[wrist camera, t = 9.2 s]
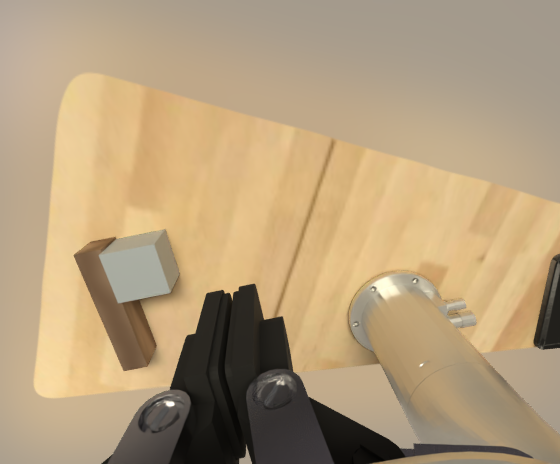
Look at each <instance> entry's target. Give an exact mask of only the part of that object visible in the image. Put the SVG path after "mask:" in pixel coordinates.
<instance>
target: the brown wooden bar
mask: <svg viewBox="0 0 560 464" xmlns="http://www.w3.org/2000/svg"><path fill="white" fill-rule="evenodd" d="M115 240H116V238H115V237H113V238H108V239H103V240H98V241H93V242H90V243H88V244H87V245H86V246H85V247H83V248H82V249H81V250H80V251H78V252H77V253H76V254H74V258H75V260H76V262H77V264H78V267H79V269H80V271H81V274H82V276H83V278H84V281H85V283H86V285H87V288H88V290H89V292H90V294H91V297H92V299H93V301H94V304H95V306H96V308H97V311H98V313H99V315H100V317H101V320H102V322H103V324H104V327H105V329H106V331H107V334H108V336H109V338H110V340H111V343H112V345H113V347H114V350H115V352H116V354H117V357H118V359H119V361H120V363H121V366H122V368H123V370H124V371H127V370H132V369H137V368H142V367H147V366H148V364H149V362H150V359H151V357H152V355H153V352H154V350H155V348H156V343H155V340H154V338H153V335H152V333H151V330H150V327H149V325H148V322H147V319H146V317H145V314H144V311H143V309H142V306H141V304H140V301H139V299H138V300H133V301H128V302H123V303H118V302H117V299H116V297H115V294H114V292H113V290H112V287H111V285H110V282H109V280H108V277H107V275H106V272H105V270H104V267H103V265H102V263H101V260H100V258H99V254H101V253H102V252H103V251H104V250H105V249H106V248H107V247H108V246H109V245H110V244H111V243H113V242H114V241H115Z"/></svg>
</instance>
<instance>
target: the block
mask: <svg viewBox="0 0 560 464" xmlns="http://www.w3.org/2000/svg"><path fill="white" fill-rule="evenodd" d="M99 258H100V260H101V263H102V265H103V267H104V270H105V272H106V275H107V277H108V280H109V282H110V285H111V287H112V290H113V292H114V294H115V297H116V299H117V302H118V303H123V302H128V301H133V300H138V299H143V298H148V297H153V296H158V295H163V294H168V293H171V291H172V289H173V287H174V285H175V283H176V280H177V278H178V276H179V274H180V273H179V269H178V266H177V263H176V260H175V257H174V254H173V251H172V248H171V245H170V242H169V239H168V235H167V232H166V229H164V230H159V231H154V232H149V233H144V234H139V235H134V236H129V237H124V238H119V239H116V240H115V241H114V242H113V243H111V244H110V245H109V246H108V247H107V248H106V249H105V250H104V251H103V252H102V253H101V254H99Z"/></svg>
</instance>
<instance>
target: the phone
mask: <svg viewBox="0 0 560 464" xmlns="http://www.w3.org/2000/svg"><path fill="white" fill-rule="evenodd" d="M534 344H535V345H536V346H537V347H538V348H539V349H543V350H544V349H553V348H560V254H558V255H556V256H555V257H553V259H552V260H551V264H550V268H549V273H548V278H547V282H546V287H545V291H544V296H543V300H542V305H541V310H540V314H539V319H538V323H537V328H536V333H535V337H534Z"/></svg>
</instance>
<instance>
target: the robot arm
mask: <svg viewBox="0 0 560 464" xmlns="http://www.w3.org/2000/svg"><path fill="white" fill-rule="evenodd" d="M465 308H466V303H465V301H464V299H463V298H458V299H453V300H451V301H446V302H445V301H444V300H441V296H440V294H439V292H438V290H437V289H436V288H435V286H434V285H433V284H432V283H431V282H430V281H429V280H428V279H426V278H425V277H423V276H422V275H419V274H417V273H414V272H409V271H392V272H387V273H384V274H382V275H379V276H377V277H375V278H373V279H372V280H370V281H368V282H367V283H366V284H365V285H364V286H362V288H361V289H360V290H359V291H358V292H357V293H356V295H355V297H354V298H353V300H352V303H351V306H350V309H349V325H350V328H351V331H352V333H353V335H354V337H355V338H356V340H357V341H358V342H359V343H360V344H361V345H362V346H363V347H365V348H367V349H368V350H370V351H373V352H375V354H376V356H377V358H378V360H379V362H380V364H381V366H382V368H383V370H384V372H385V374H386V376H387V378H388V380H389V382H390V384H391V386H392V388H393V390H394V392H395V394H396V396H397V398H398V401H399V403H400V405H401V406H402V409H403V411H404V413H405V415H406V417H407V418H408V421H409V423H410V425H411V427H412V429H413V431H414V433H415V435H416V436H417V438H418V440H419V441H420V443H421V444H416V443H414V444H413V446H414V449H402V448H399V447H398V446H397V445H396V444H394V443H393V442H391V441H390V440H389V439H387V438H385V437H383V436H382V435H380V434H378V433H376V432H374V431H372V430H370V429H368V428H366V427H365V426H363V425H361V424H359V423H357V422H355V421H353V420H351V419H350V418H348V417H346V416H344V415H342V414H340V413H338V412H336V411H334V410H332V409H331V408H329V407H327V406H325V405H323V404H321V403H319V402H317V401H316V400H314V399H312V398H310V397H308V395H307V392H306V389H305V387H304V384H303V382H302V380H301V378H300V377H299V376H298V375H297V374H296V373H294V372H293V367H292V361H291V354H290V349H289V343H288V338H287V333H286V329H285V324H284V320H283V317H277V318H272V319H266V320H264V318H263V314H262V309H261V305H260V301H259V297H258V293H257V289H256V285H255V284H250V285H245V286H240V287H239V291H236V292H234V294H233V301H232V298H231V295H230V293H226V294H225V293H224V291H223V290H220V291H215V292H210V293H207V294H206V297H205V301H204V304H203V308H202V312H201V315H200V319H199V322H198V326H197V330H196V333H195V334H191V335H188V336H187V337H186V339H185V342H184V345H183V349H182V352H181V355H180V358H179V361H178V365H177V368H176V371H175V374H174V377H173V381H172V384H171V387H170V390H168V391H164V392H162V393H159V394H157V395H155V396H153V397H152V398H150V399H149V400H148V401H146V402H145V403H144V404H143V405H142V406H141V407H140V408H139V409H138V411H137V412H136V414H135V415H134V417H133V419H132V421H131V422H130V424H129V426H128V428H127V430H126V431H125V433H124V435H123V437H122V438H121V440H120V442H119V444H118V446H117V448H116V449H115V451H114V453H113V454H112V455H111V456H110V457H109V458H108V459H107V460H105V461H104V462H103V463H102V464H239V458H244V457H245V454H246V445H247V448H248V451H249V455H250V458H251V461H252V464H560V434H559V433H558V432H557V431H556V430H555V429H553V428H552V427H551V426H550V425H549V424H548V423H547V422H546V421H545V420H543V418H541V416H540V415H539V414H538V413H537V412H536V411H535V410H534V409H533V408H532V407H531V406H530V405H529V404H528V403H527V402H526V401H525V400H524V399H523V398H522V397H521V396H520V395H519V394H518V393H517V392H516V391H515V390H514V389H513V388H512V387H511V386H510V385H509V384H508V383H507V382H506V380H504V378H503V377H502V376H501V375H500V374H499V373H498V372H497V371H496V370H495V369H494V368H493V367H492V366H491V365H490V363H489V362H488V361H487V360H486V359H485V358H484V357H483V356H482V355H481V354H480V353H479V352H478V350H477V349H476V348H475V347H474V346H473V345H472V344H471V343H470V342H469V341H468V340H467V339H466V337H465V336H464V335H463V334H462V333H461V332H460V331H459V330H458V329H457V328H459V327H460V328H464V327H469V326H474V325H476V317H475V315H474V314H473V312H472V311H465V312H460V313H456V314H453V315H448V312H449V311H452V310H460V309H465Z"/></svg>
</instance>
